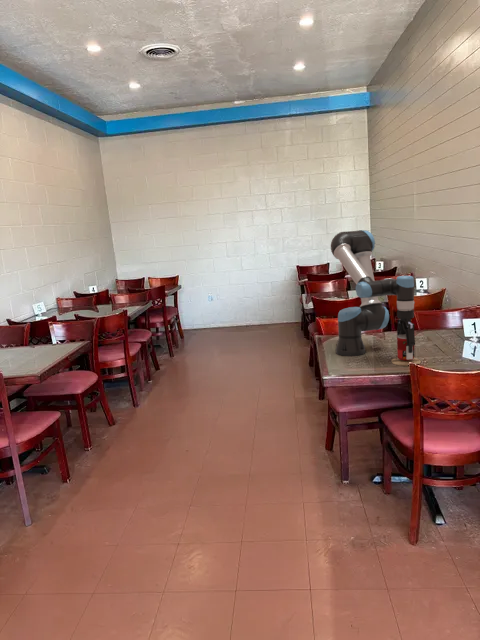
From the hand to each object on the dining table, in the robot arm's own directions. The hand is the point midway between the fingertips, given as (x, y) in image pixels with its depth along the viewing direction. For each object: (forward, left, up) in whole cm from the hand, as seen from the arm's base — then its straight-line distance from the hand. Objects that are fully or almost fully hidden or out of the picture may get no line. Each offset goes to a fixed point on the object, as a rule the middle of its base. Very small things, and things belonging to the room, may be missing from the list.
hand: (405, 356), depth 225 cm
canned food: (0, 0, -1) cm, 1 cm away
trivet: (0, 0, -3) cm, 3 cm away
